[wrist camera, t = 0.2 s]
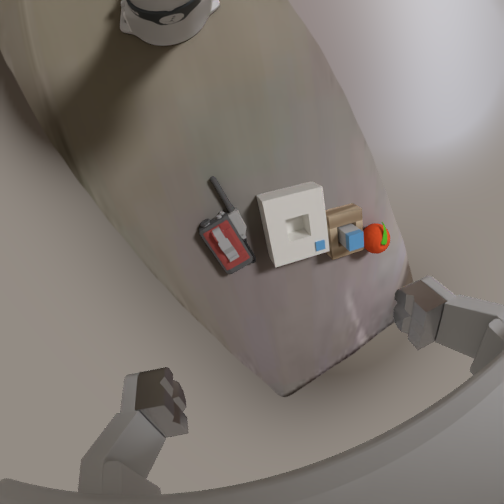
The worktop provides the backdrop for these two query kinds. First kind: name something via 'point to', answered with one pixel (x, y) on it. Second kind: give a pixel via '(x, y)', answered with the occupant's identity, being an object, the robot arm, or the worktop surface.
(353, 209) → the holster
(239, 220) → the walkie-talkie
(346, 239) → the plug
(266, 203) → the port
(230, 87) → the worktop surface
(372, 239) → the clementine
